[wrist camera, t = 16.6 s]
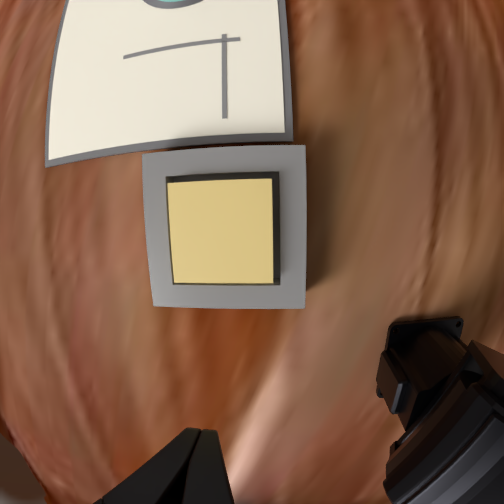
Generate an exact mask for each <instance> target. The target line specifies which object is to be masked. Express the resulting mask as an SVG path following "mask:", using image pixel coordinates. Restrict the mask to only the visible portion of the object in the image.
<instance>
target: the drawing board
mask: <svg viewBox="0 0 504 504" xmlns="http://www.w3.org/2000/svg"><path fill="white" fill-rule="evenodd" d="M253 142H293V118H292V95H291V77H290V60H289V45H288V31H287V19H286V7H285V0H66V2H65V6H64V9H63V13H62V17H61V21H60V26H59V30H58V35H57V40H56V45H55V50H54V56H53V62H52V69H51V76H50V83H49V92H48V102H47V115H46V134H45V167H52V166H57V165H62V164H67V163H72V162H77V161H82V160H88V159H94V158H100V157H106V156H112V155H119V154H125V153H133V152H140V151H148V150H157V149H166V148H176V147H186V146H198V145H212V144H229V143H253Z"/></svg>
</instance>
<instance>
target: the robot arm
mask: <svg viewBox="0 0 504 504" xmlns="http://www.w3.org/2000/svg"><path fill="white" fill-rule="evenodd" d="M458 321H459V322H458ZM457 322H458V324H457V325H456V323H457ZM463 322H464V321H463V319H462V318H460V317H459V316H455V317H446V318H437V319H427V320H417V321H405V322H395V323H392V324H391V325H390V326H389V328H388V333H387V339H386V345H385V350H384V351H383V352H382V353H381V357H380V362H379V367H378V372H377V377H376V381H377V384H378V385H377V389H376V393H377V396H378V397H379V398H384V399H385V401H386V404H387V406H388V408H389V411H390V412H391V413H392V414H398V416H399V418H400V421H401V423H402V425H403V427H404V429H405V431H406V432H405V433H404V434H403V435H402V436H401V437H400V439H399V440H398V441H395V442H394V443H393V444H392V445H391V446H390V457H389V460H388V462H387V464H386V479H385V480H384V481H383V486H384V489H385V492H386V494H387V496H388V498H389V500H390V501H391V503H392V504H504V354H501V353H499V352H497V351H495V350H493V349H491V348H489V347H487V346H484V345H482V344H480V343H478V342H476V341H474V340H471V342H470V344H469V345H468V346H467V345H466V344H464V343H463V342H462V341H461V340H460V336H461V332H462V327H463ZM395 328H398V329H397V331H395V332H393V330H394V329H395ZM93 504H235V503H234V500H233V496H232V492H231V488H230V484H229V480H228V476H227V471H226V467H225V463H224V459H223V454H222V450H221V445H220V441H219V436H218V432H217V431H216V430H209V429H203V430H201V429H198V428H186V429H184V430H183V431H182V432H181V433H180V434H179V435H178V436H176V437H175V438H174V439H173V440H172V441H171V442H170V443H168V444H167V445H166V446H165V447H164V448H163V449H161V450H160V451H159V452H158V453H157V454H156V455H154V456H153V457H152V458H151V459H150V460H148V461H147V462H146V463H145V464H144V465H142V466H141V467H140V468H139V469H137V470H136V471H135V472H134V473H132V474H131V475H130V476H129V477H127V478H126V479H125V480H124V481H122V482H121V483H120V484H119V485H117V486H116V487H115V488H113V489H112V490H111V491H109V492H108V493H107V494H106V495H104V496H103V497H102V499H101V498H100V499H99V500H97V501H96V502H95V503H93Z"/></svg>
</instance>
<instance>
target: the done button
mask: <svg viewBox="0 0 504 504" xmlns="http://www.w3.org/2000/svg"><path fill="white" fill-rule="evenodd" d="M168 205H169V223H170V238H171V251H172V263H173V274H174V283H273V200H272V179H237V180H212V181H193V182H178V183H168Z"/></svg>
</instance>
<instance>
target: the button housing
mask: <svg viewBox="0 0 504 504" xmlns="http://www.w3.org/2000/svg"><path fill="white" fill-rule="evenodd" d="M142 174H143V199H144V216H145V230H146V242H147V253H148V263H149V273H150V282H151V290H152V298H153V305H154V306H163V307H188V308H228V309H302V308H305V291H306V238H307V201H306V149H305V145H257V146H231V147H214V148H199V149H187V150H176V151H166V152H156V153H148V154H142ZM237 179H272V200H273V283H174V274H173V263H172V251H171V238H170V223H169V205H168V183H178V182H193V181H212V180H237Z"/></svg>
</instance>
